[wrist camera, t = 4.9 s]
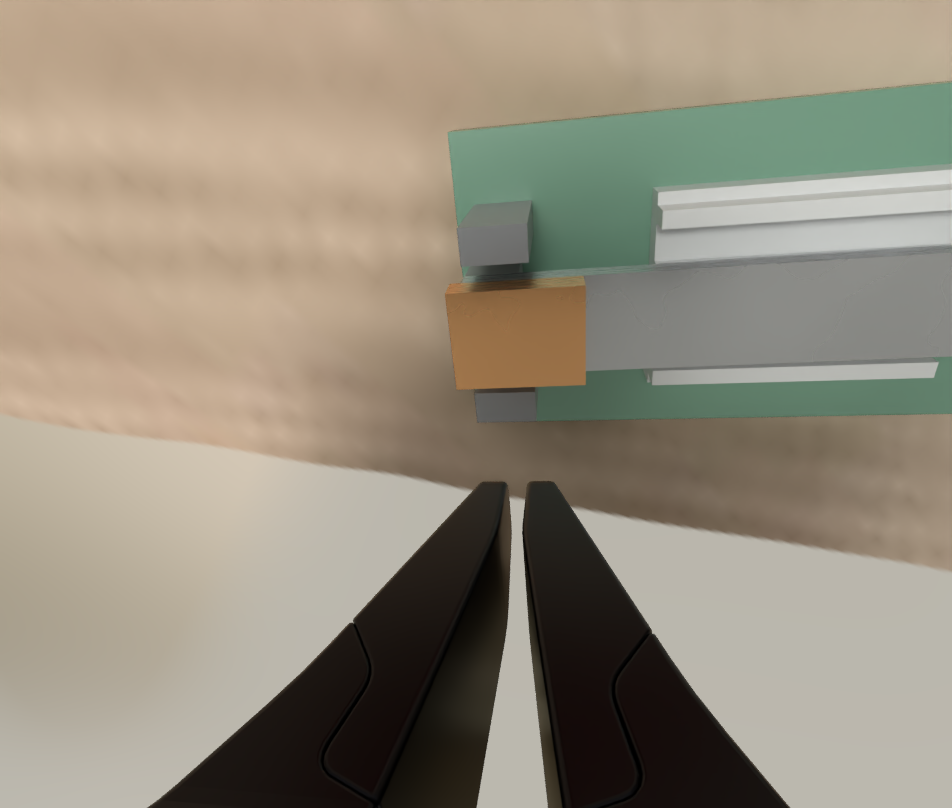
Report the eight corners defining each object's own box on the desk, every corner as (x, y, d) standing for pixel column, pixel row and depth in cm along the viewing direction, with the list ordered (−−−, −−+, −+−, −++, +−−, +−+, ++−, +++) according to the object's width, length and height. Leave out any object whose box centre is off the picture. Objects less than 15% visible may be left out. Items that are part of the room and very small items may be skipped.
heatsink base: (1160, 60, 15) (1453, 42, 10) (1020, 395, 19) (1173, 492, 15) (454, 129, 18) (416, 142, 13) (481, 406, 22) (462, 491, 18)
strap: (1178, 214, 14) (1269, 230, 12) (1115, 343, 15) (1188, 373, 14) (453, 263, 16) (443, 282, 14) (465, 370, 18) (457, 399, 16)
